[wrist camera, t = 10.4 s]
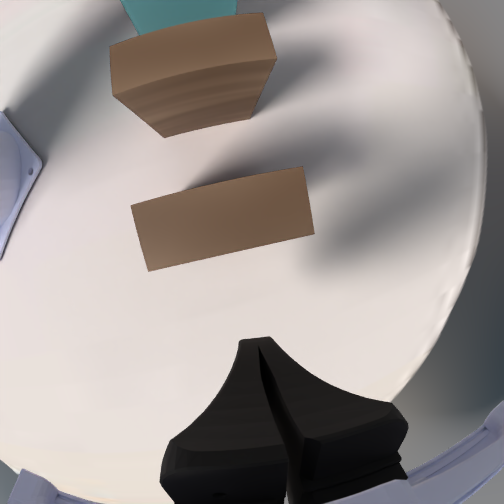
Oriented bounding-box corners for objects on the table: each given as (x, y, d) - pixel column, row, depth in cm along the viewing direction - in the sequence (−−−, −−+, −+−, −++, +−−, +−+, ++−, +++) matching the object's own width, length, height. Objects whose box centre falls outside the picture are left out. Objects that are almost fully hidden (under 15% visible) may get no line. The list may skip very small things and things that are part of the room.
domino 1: (232, 42, 13) (243, -43, 5) (152, 60, 13) (112, -15, 5) (226, 21, 12) (234, -63, 5) (150, 37, 12) (114, -38, 4)
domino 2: (249, 119, 14) (276, 58, 6) (164, 138, 14) (112, 95, 6) (242, 88, 14) (262, 12, 6) (158, 107, 13) (109, 46, 6)
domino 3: (268, 210, 16) (314, 234, 8) (184, 229, 15) (148, 271, 8) (261, 176, 15) (302, 166, 7) (176, 195, 15) (130, 205, 7)
